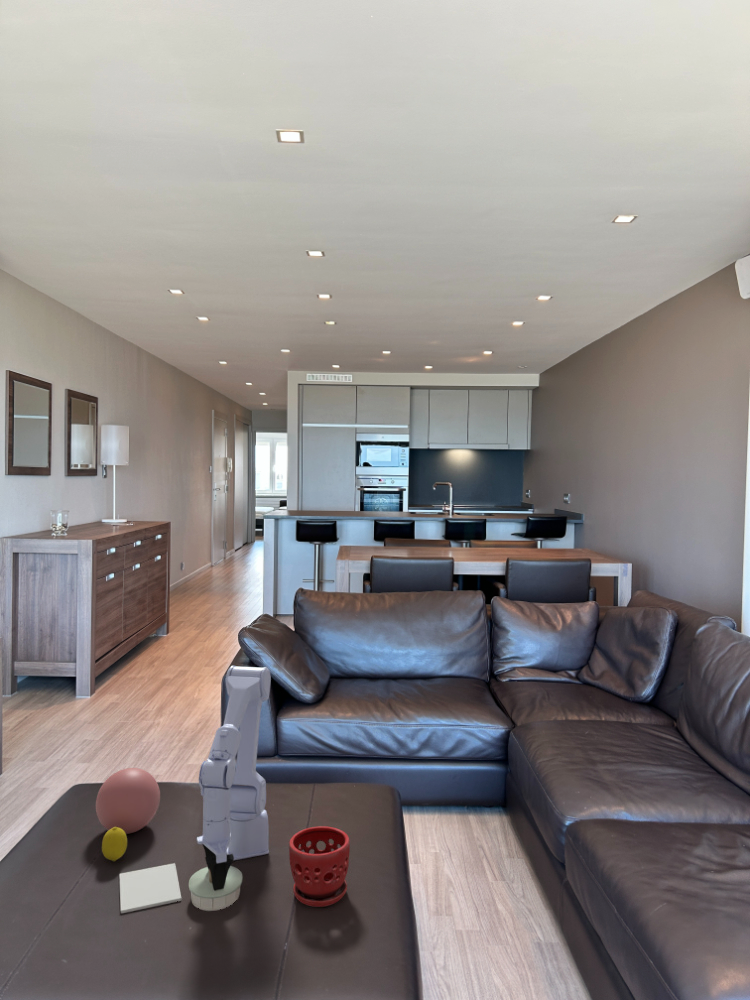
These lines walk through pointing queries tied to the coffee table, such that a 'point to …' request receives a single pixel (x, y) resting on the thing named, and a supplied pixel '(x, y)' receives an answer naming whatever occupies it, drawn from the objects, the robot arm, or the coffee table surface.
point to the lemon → (114, 843)
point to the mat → (149, 888)
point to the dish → (215, 901)
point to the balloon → (128, 800)
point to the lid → (203, 885)
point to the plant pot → (319, 865)
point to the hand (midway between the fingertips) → (215, 878)
